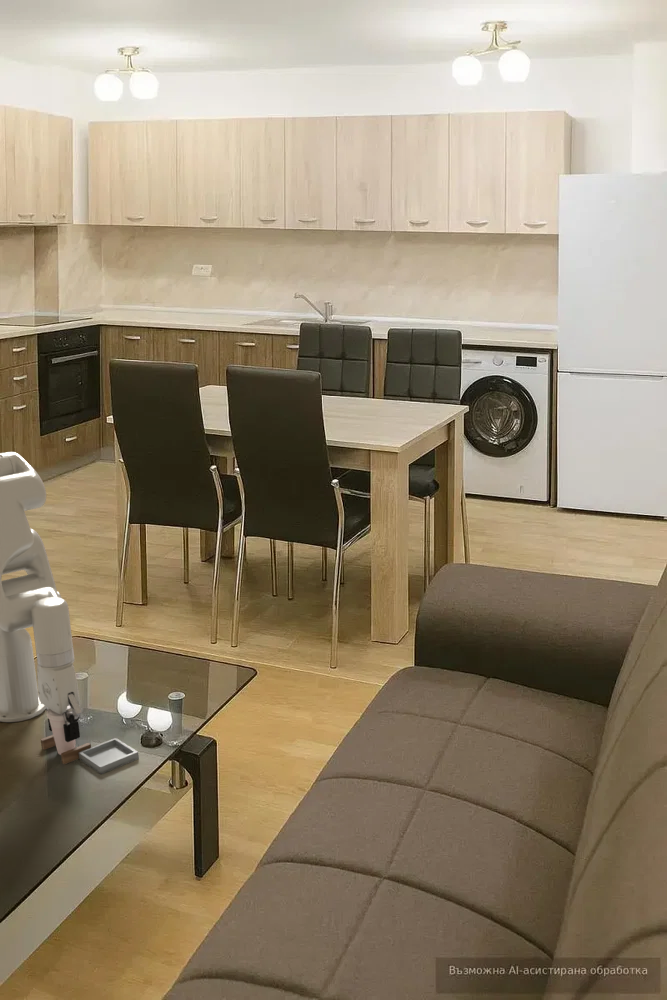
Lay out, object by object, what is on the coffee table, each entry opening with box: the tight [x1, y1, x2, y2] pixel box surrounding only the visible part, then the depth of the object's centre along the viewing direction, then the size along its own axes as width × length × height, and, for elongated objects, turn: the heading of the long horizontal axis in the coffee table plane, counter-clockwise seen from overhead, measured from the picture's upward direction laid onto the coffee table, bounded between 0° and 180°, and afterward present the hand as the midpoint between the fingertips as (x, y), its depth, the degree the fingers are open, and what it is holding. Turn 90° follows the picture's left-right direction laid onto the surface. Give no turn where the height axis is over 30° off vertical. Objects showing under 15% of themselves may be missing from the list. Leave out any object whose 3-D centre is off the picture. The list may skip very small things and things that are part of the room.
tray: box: [78, 737, 140, 775], centre depth 232 cm, size 9×9×2 cm
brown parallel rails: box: [40, 734, 92, 765], centre depth 236 cm, size 10×6×2 cm, turn 42°
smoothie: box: [46, 706, 77, 756], centre depth 234 cm, size 6×6×14 cm
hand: (64, 733), depth 235 cm, fingers closed on smoothie, 6 cm apart
